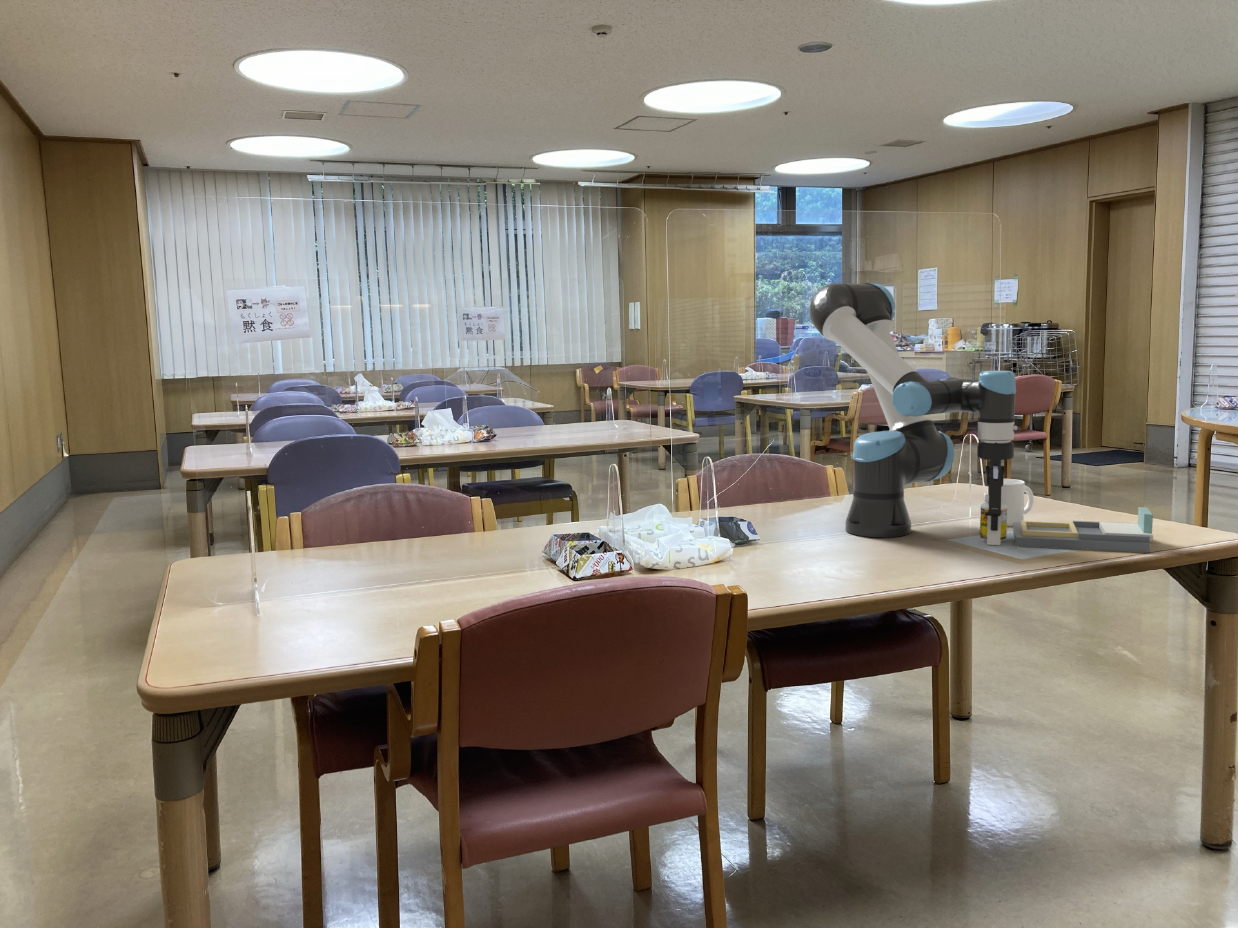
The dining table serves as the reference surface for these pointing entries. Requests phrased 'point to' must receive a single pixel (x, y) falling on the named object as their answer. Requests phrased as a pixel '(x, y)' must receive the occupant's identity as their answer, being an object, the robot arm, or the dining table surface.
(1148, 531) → the cover
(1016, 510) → the mug
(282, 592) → the dining table surface
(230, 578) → the dining table surface
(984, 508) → the supplement bottle
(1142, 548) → the housing
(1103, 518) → the dining table surface
